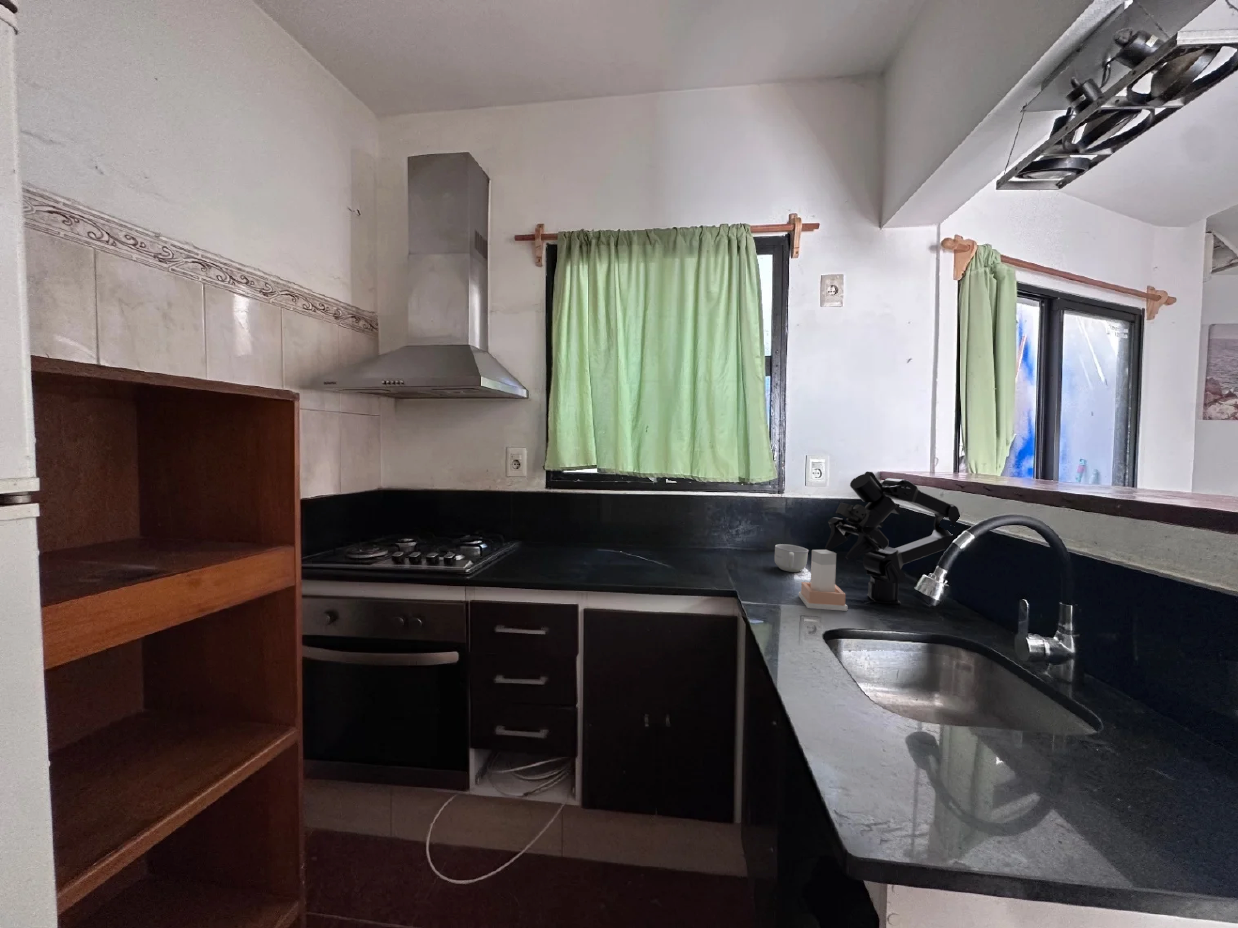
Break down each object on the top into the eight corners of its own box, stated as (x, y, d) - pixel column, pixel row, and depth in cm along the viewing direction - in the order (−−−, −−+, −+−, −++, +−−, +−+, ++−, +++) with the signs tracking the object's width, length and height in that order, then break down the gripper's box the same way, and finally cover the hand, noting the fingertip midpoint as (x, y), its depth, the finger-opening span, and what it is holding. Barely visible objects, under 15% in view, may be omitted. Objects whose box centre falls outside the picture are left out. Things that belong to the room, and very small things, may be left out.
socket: (835, 598, 132) (836, 583, 131) (847, 610, 122) (848, 594, 122) (798, 595, 133) (799, 581, 133) (807, 607, 123) (808, 592, 123)
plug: (824, 595, 130) (826, 549, 129) (834, 600, 126) (836, 553, 125) (810, 596, 129) (811, 549, 129) (819, 601, 125) (821, 553, 124)
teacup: (777, 564, 168) (778, 542, 168) (809, 568, 162) (810, 546, 162) (768, 573, 156) (769, 549, 156) (803, 578, 151) (803, 554, 150)
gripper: (835, 489, 137) (799, 527, 135) (880, 497, 118) (839, 541, 117) (858, 516, 138) (822, 553, 137) (906, 527, 120) (866, 571, 119)
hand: (836, 554), depth 127 cm, fingers open, 9 cm apart
